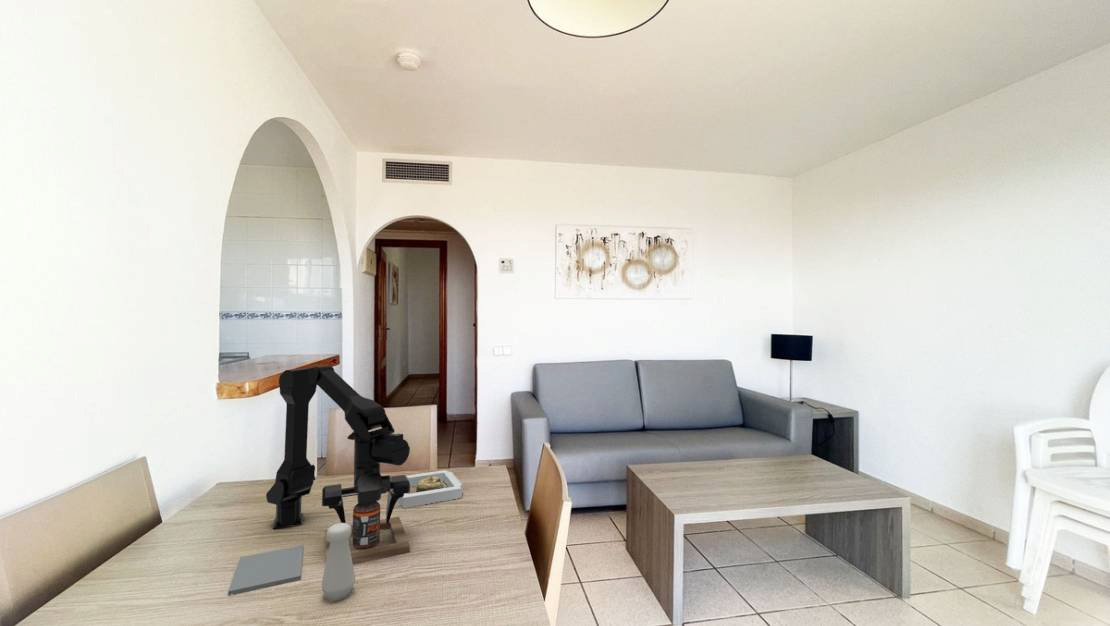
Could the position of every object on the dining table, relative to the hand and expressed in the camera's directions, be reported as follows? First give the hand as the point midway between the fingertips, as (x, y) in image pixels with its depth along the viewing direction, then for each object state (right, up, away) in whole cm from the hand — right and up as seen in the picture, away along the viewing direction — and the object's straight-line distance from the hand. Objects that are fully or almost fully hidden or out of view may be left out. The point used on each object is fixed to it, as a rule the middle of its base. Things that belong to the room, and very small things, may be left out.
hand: (366, 526), depth 106 cm
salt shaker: (+3, -4, -20) cm, 20 cm away
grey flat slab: (-16, -4, -11) cm, 20 cm away
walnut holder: (0, -4, 0) cm, 4 cm away
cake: (+6, -5, +32) cm, 33 cm away
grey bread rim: (+5, -5, +32) cm, 32 cm away
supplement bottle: (0, -4, 0) cm, 4 cm away
